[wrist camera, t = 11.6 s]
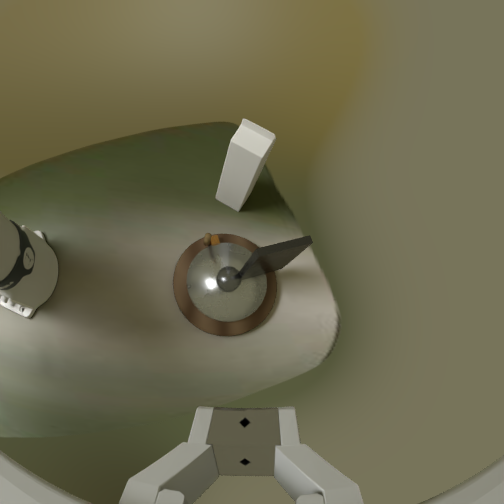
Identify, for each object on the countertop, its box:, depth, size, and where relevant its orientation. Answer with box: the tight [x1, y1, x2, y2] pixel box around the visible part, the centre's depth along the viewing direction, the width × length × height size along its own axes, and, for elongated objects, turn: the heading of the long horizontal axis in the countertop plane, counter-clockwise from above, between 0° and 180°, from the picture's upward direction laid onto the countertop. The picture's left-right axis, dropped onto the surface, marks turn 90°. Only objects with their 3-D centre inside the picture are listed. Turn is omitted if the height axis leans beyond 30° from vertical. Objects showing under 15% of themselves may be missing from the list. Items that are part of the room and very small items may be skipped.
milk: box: [215, 119, 276, 212], centre depth 50 cm, size 6×6×22 cm
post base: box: [173, 233, 277, 336], centre depth 50 cm, size 20×20×5 cm
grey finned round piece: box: [187, 235, 313, 322], centre depth 45 cm, size 18×17×15 cm
